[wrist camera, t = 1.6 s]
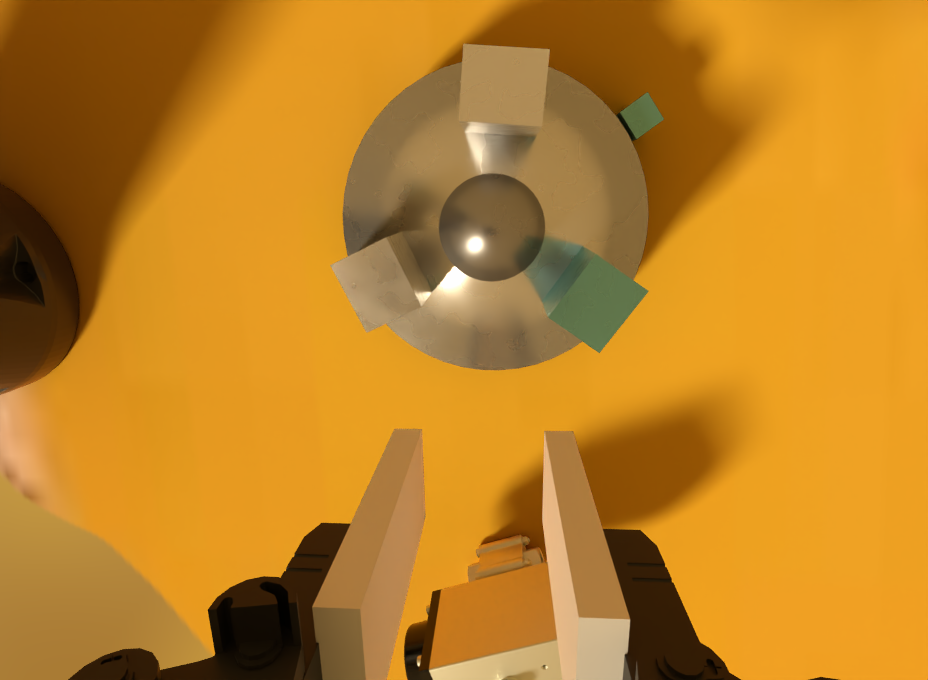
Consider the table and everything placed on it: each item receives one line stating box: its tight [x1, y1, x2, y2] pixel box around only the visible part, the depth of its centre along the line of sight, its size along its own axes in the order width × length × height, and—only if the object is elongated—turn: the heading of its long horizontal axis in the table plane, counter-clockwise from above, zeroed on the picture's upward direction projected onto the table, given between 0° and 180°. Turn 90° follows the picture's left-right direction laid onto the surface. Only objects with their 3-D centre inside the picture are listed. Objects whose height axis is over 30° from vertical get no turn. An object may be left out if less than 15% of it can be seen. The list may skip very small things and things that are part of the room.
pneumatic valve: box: [404, 534, 562, 680], centre depth 33 cm, size 6×12×12 cm, turn 111°
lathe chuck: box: [331, 44, 649, 370], centre depth 27 cm, size 16×16×6 cm
